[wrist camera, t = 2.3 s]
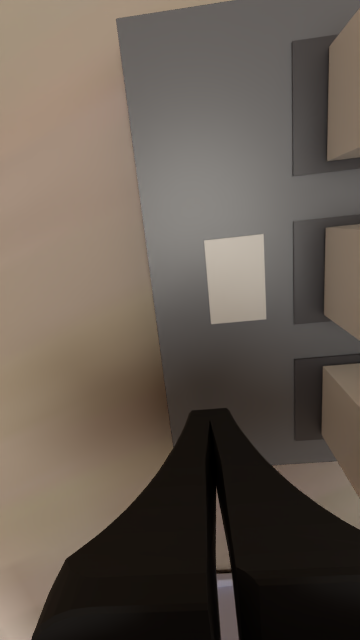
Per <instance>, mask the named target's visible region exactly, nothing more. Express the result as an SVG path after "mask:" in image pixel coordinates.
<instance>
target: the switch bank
mask: <svg viewBox="0 0 360 640" xmlns="http://www.w3.org/2000/svg"><path fill="white" fill-rule="evenodd" d="M359 8H360V0H233V1H227V2H220V3H214V4H208V5H201V6H195V7H188V8H182V9H175V10H169V11H163V12H156V13H150V14H143V15H137V16H130V17H124V18H118V19H116V23H117V31H118V38H119V46H120V53H121V60H122V68H123V75H124V83H125V90H126V98H127V105H128V113H129V120H130V128H131V135H132V142H133V150H134V157H135V165H136V172H137V180H138V187H139V195H140V202H141V210H142V217H143V225H144V232H145V239H146V247H147V254H148V262H149V269H150V277H151V284H152V292H153V299H154V307H155V314H156V322H157V329H158V336H159V344H160V351H161V359H162V366H163V374H164V381H165V389H166V396H167V404H168V411H169V419H170V426H171V433H172V441H173V448H174V446H175V444H176V442H177V440H178V438H179V436H180V434H181V432H182V430H183V428H184V426H185V423H186V421H187V418H188V415H189V413H190V412H191V411H192V410H204V409H217V408H227V409H228V410H230V413H231V414H232V416H233V418H234V420H235V421H236V423H237V424H238V426H239V427H240V429H241V430H242V432H243V433H244V434H245V436H246V437H247V438H248V439H249V441H250V442H251V443H252V445H253V446H254V447H255V448H256V449H257V450H258V452H259V453H260V454H261V455H262V456H263V457H264V458H265V459H266V460H267V461H268V462H269V464H270V465H284V464H300V463H316V462H333V461H337V460H336V458H335V456H334V455H333V453H332V451H331V450H330V448H329V446H328V445H327V443H326V441H325V440H324V438H323V436H322V386H323V366H332V365H344V364H357V363H360V341H359V340H358V339H357V338H355V337H354V336H352V335H351V334H350V333H348V332H347V331H346V330H344V329H343V328H341V327H340V326H339V325H337V324H336V323H334V322H333V321H332V320H330V319H329V318H328V317H326V316H325V315H324V286H325V236H326V228H327V227H336V226H346V225H355V224H360V157H358V158H350V159H342V160H334V161H327V136H328V86H329V46H330V45H331V44H332V42H333V41H334V40H335V39H336V37H337V36H338V35H339V34H340V32H341V31H342V30H343V28H344V27H345V26H346V25H347V23H348V22H349V21H350V20H351V18H352V17H353V16H354V15H355V13H356V12H357V11H358V9H359Z"/></svg>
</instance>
